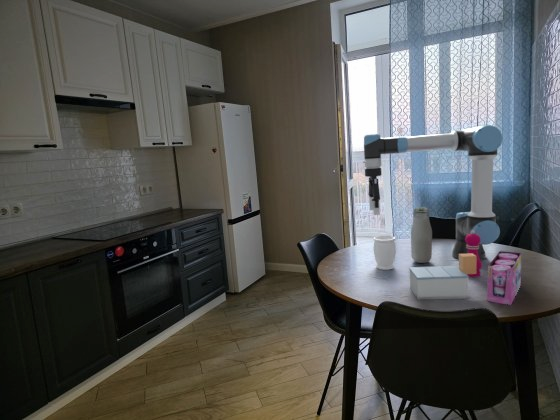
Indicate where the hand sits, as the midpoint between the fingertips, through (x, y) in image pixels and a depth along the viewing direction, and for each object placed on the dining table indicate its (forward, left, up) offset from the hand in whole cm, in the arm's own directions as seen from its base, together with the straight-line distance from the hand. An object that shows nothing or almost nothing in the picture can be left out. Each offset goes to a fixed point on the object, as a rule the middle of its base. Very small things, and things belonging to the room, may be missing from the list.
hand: (374, 212), depth 177 cm
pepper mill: (-39, +14, -28) cm, 50 cm away
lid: (-21, +34, -20) cm, 44 cm away
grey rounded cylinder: (-23, -7, -28) cm, 37 cm away
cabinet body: (-18, +34, -28) cm, 47 cm away
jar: (-4, -1, -28) cm, 28 cm away
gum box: (-42, +36, -28) cm, 62 cm away
